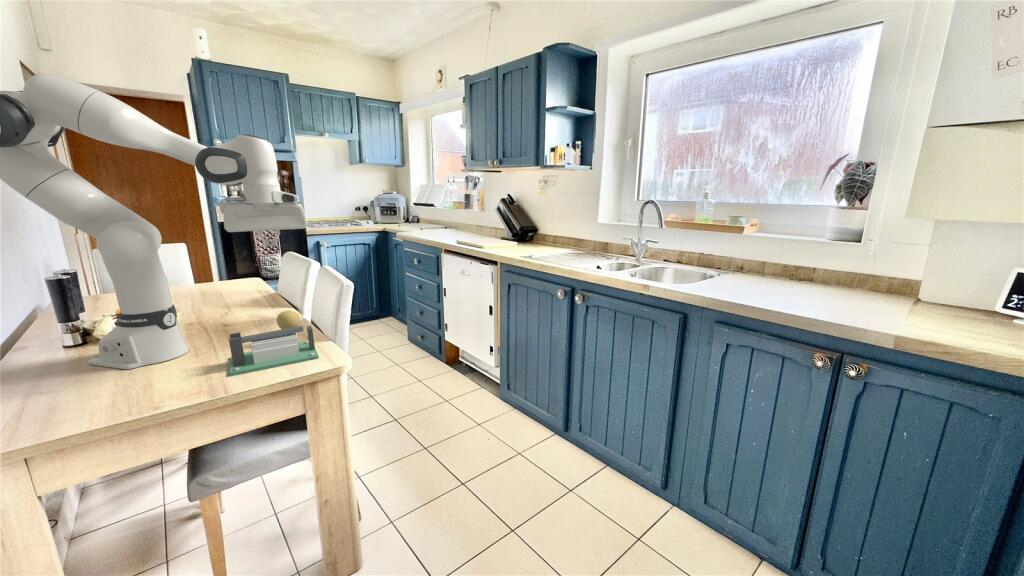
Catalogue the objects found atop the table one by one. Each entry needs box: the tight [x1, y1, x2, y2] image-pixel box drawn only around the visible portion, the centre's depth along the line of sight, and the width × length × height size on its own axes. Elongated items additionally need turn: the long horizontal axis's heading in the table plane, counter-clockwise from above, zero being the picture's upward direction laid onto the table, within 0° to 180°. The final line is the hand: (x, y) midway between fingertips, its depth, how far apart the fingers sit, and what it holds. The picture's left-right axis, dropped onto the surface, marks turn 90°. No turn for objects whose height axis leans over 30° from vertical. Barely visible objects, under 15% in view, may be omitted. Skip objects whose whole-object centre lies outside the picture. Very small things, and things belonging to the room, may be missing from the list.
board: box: [228, 325, 320, 377], centre depth 114 cm, size 21×14×8 cm, turn 123°
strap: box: [240, 325, 305, 344], centre depth 113 cm, size 17×3×1 cm, turn 123°
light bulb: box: [276, 309, 301, 340], centre depth 127 cm, size 6×6×10 cm
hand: (270, 246), depth 116 cm, fingers closed
